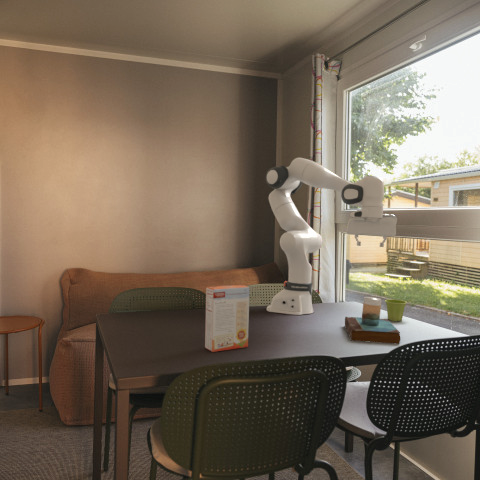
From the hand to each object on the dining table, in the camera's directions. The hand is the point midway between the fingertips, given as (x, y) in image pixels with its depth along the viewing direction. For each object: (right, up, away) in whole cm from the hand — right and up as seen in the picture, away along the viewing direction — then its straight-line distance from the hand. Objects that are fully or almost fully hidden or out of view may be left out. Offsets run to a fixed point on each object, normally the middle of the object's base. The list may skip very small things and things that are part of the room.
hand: (370, 246), depth 192 cm
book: (-4, -36, -15) cm, 39 cm away
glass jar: (-4, -30, -15) cm, 34 cm away
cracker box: (-60, -34, -40) cm, 80 cm away
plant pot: (+15, -34, +14) cm, 40 cm away
